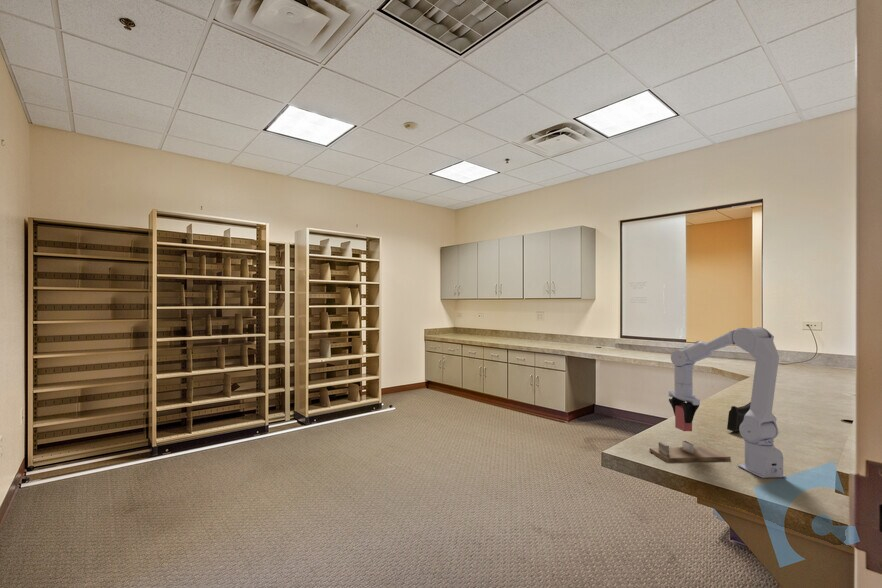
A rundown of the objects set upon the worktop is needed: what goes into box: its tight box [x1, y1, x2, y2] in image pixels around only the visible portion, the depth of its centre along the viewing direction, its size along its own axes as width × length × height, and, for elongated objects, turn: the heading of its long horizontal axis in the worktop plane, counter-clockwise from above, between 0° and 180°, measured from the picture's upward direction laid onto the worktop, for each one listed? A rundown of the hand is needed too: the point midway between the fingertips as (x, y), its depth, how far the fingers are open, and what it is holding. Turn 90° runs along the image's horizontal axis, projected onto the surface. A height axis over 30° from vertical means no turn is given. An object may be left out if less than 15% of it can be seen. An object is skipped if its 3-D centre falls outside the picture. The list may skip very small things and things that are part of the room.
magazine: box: [726, 401, 751, 432], centre depth 180 cm, size 17×3×30 cm
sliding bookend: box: [681, 440, 695, 454], centre depth 146 cm, size 1×4×3 cm, turn 6°
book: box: [674, 405, 693, 432], centre depth 156 cm, size 5×3×8 cm, turn 5°
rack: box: [649, 441, 732, 463], centre depth 146 cm, size 22×10×4 cm, turn 95°
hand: (683, 420), depth 156 cm, fingers closed on book, 5 cm apart
